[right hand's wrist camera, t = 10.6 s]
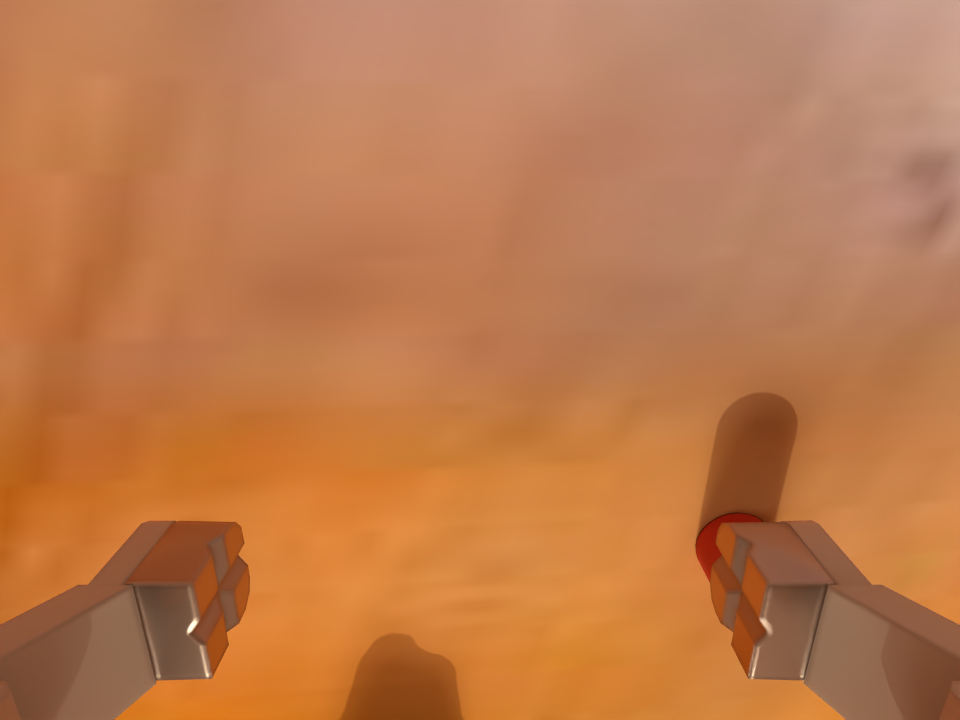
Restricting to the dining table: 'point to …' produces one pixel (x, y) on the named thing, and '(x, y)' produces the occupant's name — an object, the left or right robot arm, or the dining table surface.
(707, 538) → the can
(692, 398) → the dining table surface
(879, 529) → the dining table surface
